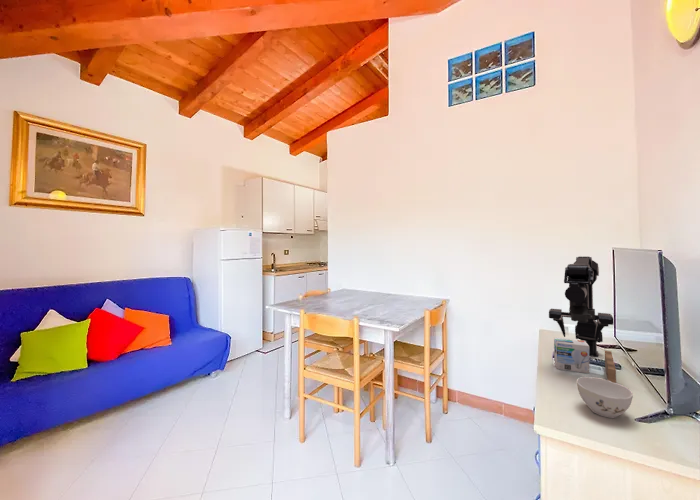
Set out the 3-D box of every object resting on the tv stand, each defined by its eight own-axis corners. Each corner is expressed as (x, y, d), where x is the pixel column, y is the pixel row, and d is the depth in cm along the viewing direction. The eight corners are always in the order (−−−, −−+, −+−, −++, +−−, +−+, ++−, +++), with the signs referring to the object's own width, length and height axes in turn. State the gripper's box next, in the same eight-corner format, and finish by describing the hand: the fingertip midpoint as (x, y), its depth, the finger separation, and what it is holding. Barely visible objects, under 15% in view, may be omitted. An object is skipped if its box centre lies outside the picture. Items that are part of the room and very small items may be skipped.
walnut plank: (605, 365, 115) (604, 350, 115) (611, 366, 114) (611, 351, 114) (608, 385, 100) (608, 368, 100) (616, 387, 99) (615, 369, 99)
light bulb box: (556, 369, 114) (555, 342, 114) (553, 362, 120) (553, 337, 120) (590, 373, 109) (590, 345, 109) (586, 366, 115) (585, 340, 115)
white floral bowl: (636, 431, 76) (636, 402, 76) (577, 415, 84) (576, 388, 84) (628, 405, 88) (628, 379, 88) (576, 393, 96) (576, 369, 96)
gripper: (547, 299, 107) (548, 340, 108) (614, 304, 96) (615, 350, 96) (549, 294, 116) (550, 332, 116) (611, 298, 105) (612, 340, 105)
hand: (579, 338), depth 108 cm, fingers open, 9 cm apart
